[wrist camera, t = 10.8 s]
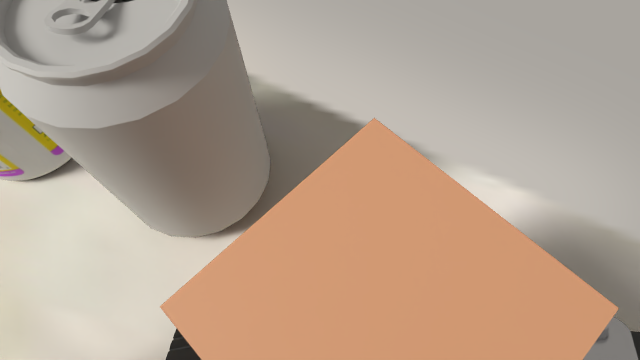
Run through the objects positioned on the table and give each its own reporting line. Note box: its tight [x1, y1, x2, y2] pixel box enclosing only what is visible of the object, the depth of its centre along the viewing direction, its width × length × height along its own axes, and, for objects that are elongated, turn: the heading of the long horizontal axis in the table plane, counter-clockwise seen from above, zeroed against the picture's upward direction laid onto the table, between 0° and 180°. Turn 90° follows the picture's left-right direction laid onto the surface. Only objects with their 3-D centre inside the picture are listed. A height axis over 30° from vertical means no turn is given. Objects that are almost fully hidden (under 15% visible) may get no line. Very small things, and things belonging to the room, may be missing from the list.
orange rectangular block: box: [160, 118, 619, 360], centre depth 12 cm, size 5×5×12 cm
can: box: [0, 0, 271, 238], centre depth 18 cm, size 8×8×12 cm
